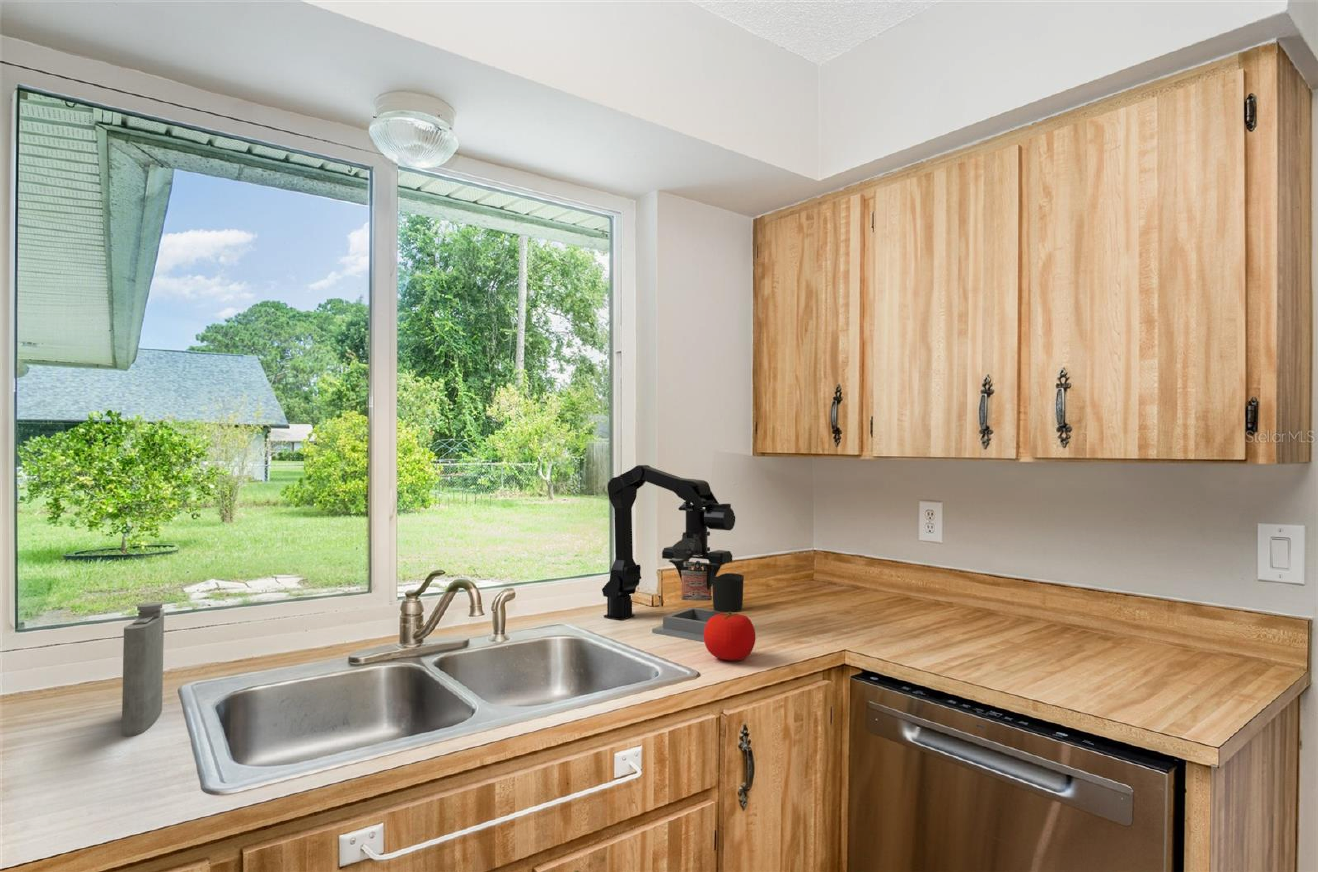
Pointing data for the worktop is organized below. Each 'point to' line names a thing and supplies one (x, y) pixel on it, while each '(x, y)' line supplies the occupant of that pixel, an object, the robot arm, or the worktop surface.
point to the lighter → (695, 582)
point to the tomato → (729, 636)
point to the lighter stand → (686, 623)
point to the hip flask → (143, 670)
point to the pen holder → (728, 592)
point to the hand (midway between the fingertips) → (696, 587)
